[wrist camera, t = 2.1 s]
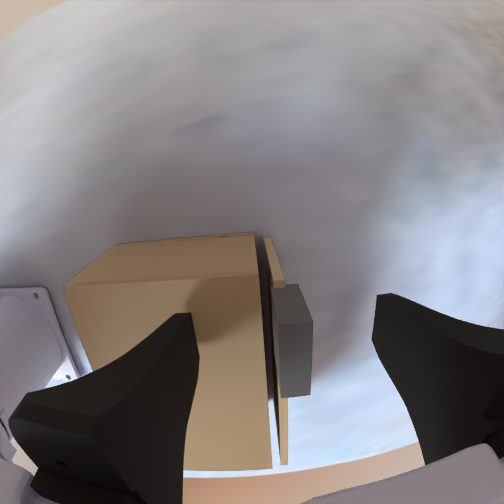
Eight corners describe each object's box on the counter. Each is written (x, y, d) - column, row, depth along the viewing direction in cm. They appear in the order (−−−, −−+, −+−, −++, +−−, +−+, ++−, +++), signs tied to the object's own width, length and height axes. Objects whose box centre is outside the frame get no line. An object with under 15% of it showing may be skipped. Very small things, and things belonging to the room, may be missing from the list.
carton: (160, 405, 20) (143, 466, 15) (114, 244, 16) (62, 286, 11) (266, 402, 20) (272, 468, 15) (253, 231, 16) (258, 274, 11)
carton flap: (272, 401, 20) (282, 499, 12) (261, 237, 16) (277, 316, 8) (286, 399, 20) (301, 497, 12) (280, 236, 16) (312, 312, 8)
